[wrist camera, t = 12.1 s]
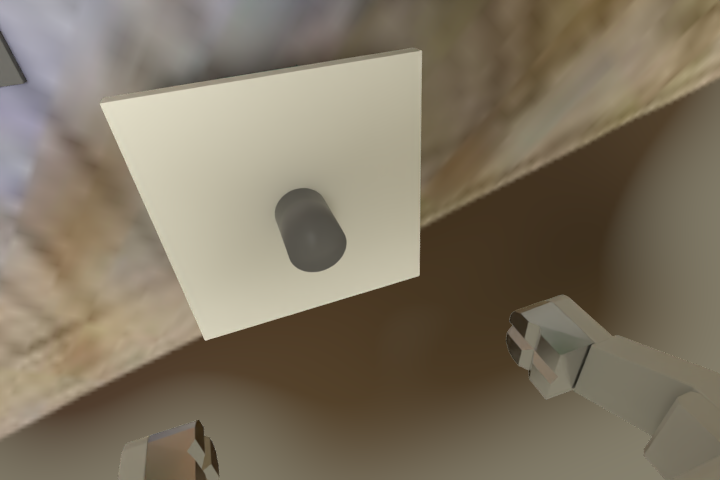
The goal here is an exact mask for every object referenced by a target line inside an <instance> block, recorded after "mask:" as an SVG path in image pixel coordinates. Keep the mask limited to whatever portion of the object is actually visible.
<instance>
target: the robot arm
mask: <svg viewBox="0 0 720 480" xmlns="http://www.w3.org/2000/svg"><path fill="white" fill-rule="evenodd" d="M509 321H510V323H511V324H512V325H513V326H512V327H511V328H510V329H509V331H508V332H507V337H506V343H507V347H508V350H509V352H510V354H511V356H512V358H513V359H514V361H515V362H516V363H517V364H518V366H521V367H523V368H525V369H527V370H529V379H530V381H531V382H532V383H533V384H534V386H535V387H536V388H537V389H538V391H539V392H540V393H541V394H542V395H543V397H544V398H545V399H549V398H551V397H554V396H557V395H559V394H562V393H565V392H568V391H570V390H573V389H574V392H576V393H578V394H580V395H581V396H583V397H585V398H586V399H588V400H590V401H592V402H594V403H595V404H597V405H599V406H600V407H602V408H604V409H606V410H608V411H609V412H611V413H613V414H614V415H616V416H618V417H620V418H621V419H623V420H625V421H627V422H628V423H630V424H632V425H634V426H636V427H637V428H639V429H641V430H642V431H644V432H646V433H648V434H649V435H651V436H652V438H651V439H650V440H649V442H648V443H647V445H646V446H645V448H644V457H645V458H646V459H647V460H648V461H649V462H650V463H651V464H652V466H653V467H654V468H655V469H656V470H657V471H658V472H659V473H660V475H661V476H662V477H663V478H664V479H665V480H720V373H718V372H715V371H712V370H710V369H707V368H704V367H702V366H699V365H696V364H694V363H691V362H688V361H686V360H683V359H680V358H678V357H675V356H672V355H669V354H666V353H664V352H661V351H658V350H656V349H653V348H651V347H648V346H645V345H643V344H640V343H637V342H635V341H632V340H629V339H627V338H624V337H621V336H618V335H616V336H612V335H610V334H609V333H608V332H607V331H606V330H605V329H604V328H603V327H601V326H600V325H599V324H598V323H597V322H596V321H595V320H594V319H593V318H591V317H590V316H589V315H588V314H587V313H586V312H585V311H583V310H582V309H581V308H580V307H579V306H578V305H577V304H576V303H574V301H572V300H571V299H570V298H569V297H567V296H565V295H559V296H556V297H554V298H551V299H548V300H545V301H544V300H543V301H541V302H538V303H535V304H533V305H530V306H527V307H524V308H521V309H519V310H516V311H514V312H513V313H512V314H511V315H510V320H509ZM118 480H219V465H218V460H217V454H216V450H215V447H214V445H213V442H212V440H211V439H210V437H206V436H204V427H203V425H202V424H201V422H200V421H199V420H196V421H193V422H190V423H187V424H184V425H181V426H178V427H175V428H171V429H169V430H165V431H162V432H159V433H157V434H153V435H149V436H146V437H143V438H141V439H138V440H135V441H132V442H129V443H126V444H125V446H124V448H123V451H122V453H121V460H120V468H119V475H118Z"/></svg>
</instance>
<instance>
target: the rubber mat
mask: <svg viewBox="0 0 720 480" xmlns="http://www.w3.org/2000/svg"><path fill="white" fill-rule="evenodd" d="M25 82H26V79H25V77H24V75H23V73H22V72H21V70H20V68H19V66H18V64H17V62H16V60H15V58H14V57H13V55H12V53H11V51H10V49H9V47H8V45H7V43H6V41H5V40H4V38H3V36H2V34H1V32H0V87H2V86H9V85H15V84H22V83H25Z"/></svg>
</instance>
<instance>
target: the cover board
mask: <svg viewBox="0 0 720 480" xmlns="http://www.w3.org/2000/svg"><path fill="white" fill-rule="evenodd" d="M421 95H422V50H419V49H417V48H408V49H401V50H395V51H389V52H383V53H377V54H370V55H364V56H358V57H352V58H346V59H339V60H333V61H327V62H321V63H315V64H308V65H302V66H296V67H290V68H284V69H277V70H271V71H265V72H259V73H253V74H246V75H240V76H234V77H228V78H222V79H215V80H209V81H203V82H197V83H191V84H184V85H178V86H172V87H166V88H160V89H153V90H147V91H141V92H135V93H129V94H122V95H116V96H110V97H104V98H103V99H102V100H101V102H100V105H101V108H102V110H103V112H104V114H105V117H106V119H107V121H108V123H109V126H110V128H111V130H112V132H113V135H114V137H115V139H116V141H117V144H118V146H119V148H120V150H121V153H122V155H123V157H124V159H125V162H126V164H127V166H128V168H129V171H130V173H131V175H132V177H133V180H134V182H135V184H136V186H137V189H138V191H139V193H140V195H141V198H142V200H143V202H144V204H145V207H146V209H147V211H148V213H149V216H150V218H151V220H152V222H153V225H154V227H155V229H156V231H157V234H158V236H159V238H160V240H161V243H162V245H163V247H164V249H165V252H166V254H167V256H168V258H169V261H170V263H171V265H172V267H173V270H174V272H175V274H176V276H177V279H178V281H179V283H180V285H181V288H182V290H183V292H184V294H185V297H186V299H187V301H188V303H189V306H190V308H191V310H192V312H193V315H194V317H195V319H196V321H197V324H198V326H199V328H200V330H201V333H202V335H203V337H204V339H205V340H209V339H211V338H215V337H218V336H222V335H225V334H228V333H231V332H235V331H238V330H242V329H245V328H248V327H252V326H255V325H258V324H261V323H265V322H268V321H271V320H275V319H278V318H281V317H284V316H288V315H291V314H295V313H298V312H301V311H304V310H308V309H311V308H314V307H317V306H321V305H324V304H328V303H331V302H334V301H338V300H341V299H344V298H347V297H351V296H354V295H357V294H361V293H364V292H367V291H371V290H374V289H377V288H380V287H384V286H387V285H390V284H393V283H397V282H400V281H404V280H407V279H410V278H413V277H417V276H419V273H420V264H419V263H420V185H421Z"/></svg>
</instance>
